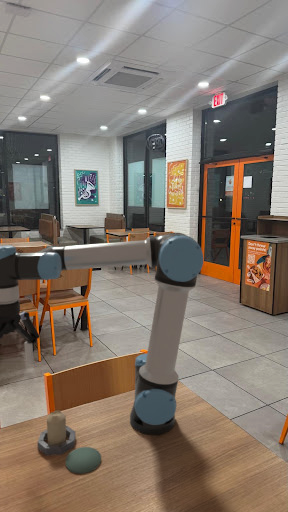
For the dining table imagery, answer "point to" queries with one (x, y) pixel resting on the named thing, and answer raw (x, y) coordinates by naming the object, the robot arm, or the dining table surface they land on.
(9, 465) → the dining table surface
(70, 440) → the holder ring
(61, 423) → the candle
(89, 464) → the coaster
